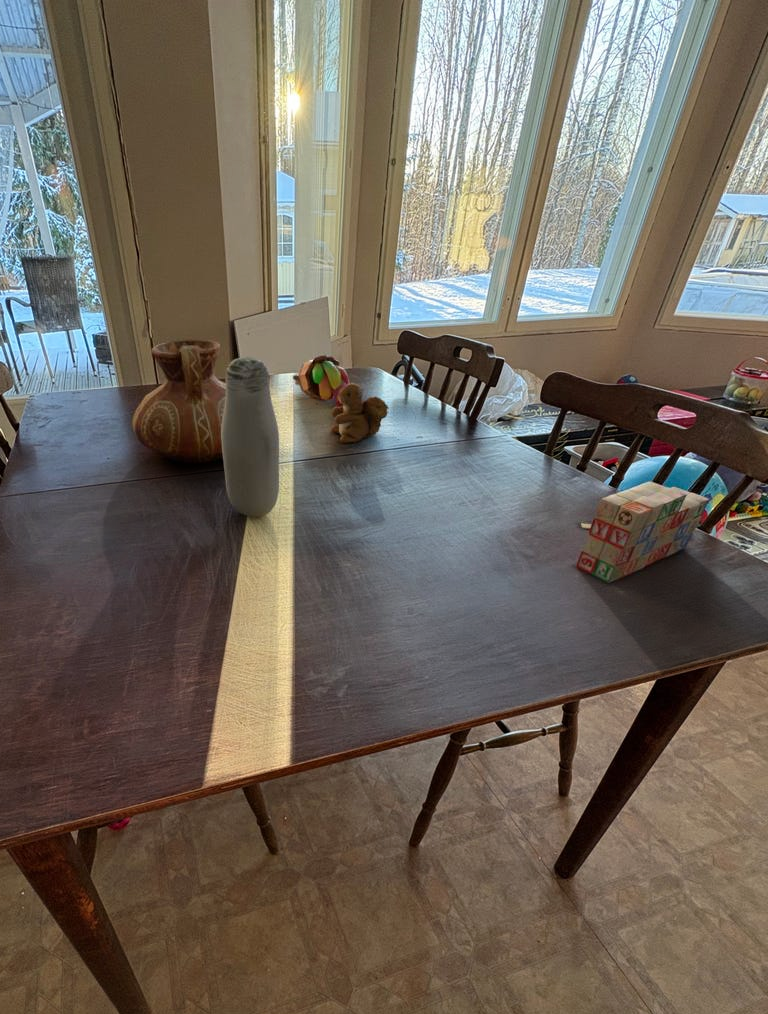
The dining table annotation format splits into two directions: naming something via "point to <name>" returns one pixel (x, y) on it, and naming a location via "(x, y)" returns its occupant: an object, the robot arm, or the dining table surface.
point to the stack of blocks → (639, 529)
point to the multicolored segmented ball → (322, 378)
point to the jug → (184, 404)
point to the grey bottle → (250, 438)
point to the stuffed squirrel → (357, 414)
